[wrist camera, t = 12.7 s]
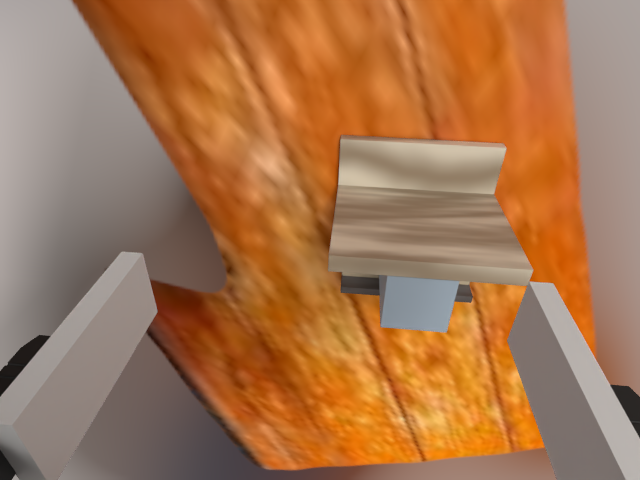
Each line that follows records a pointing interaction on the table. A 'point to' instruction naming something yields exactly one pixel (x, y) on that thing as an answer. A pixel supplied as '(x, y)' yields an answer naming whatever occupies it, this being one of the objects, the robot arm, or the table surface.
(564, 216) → the table surface
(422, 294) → the grey rectangular block
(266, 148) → the table surface
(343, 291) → the grey slotted stand
